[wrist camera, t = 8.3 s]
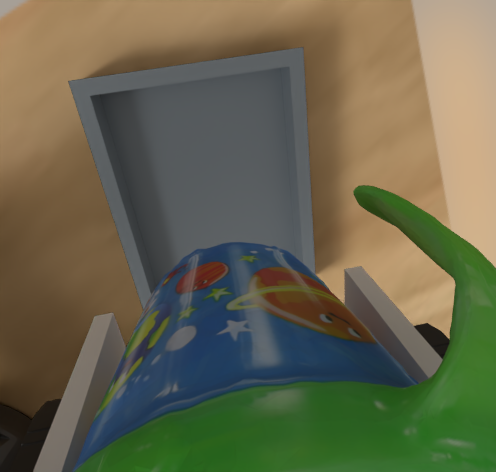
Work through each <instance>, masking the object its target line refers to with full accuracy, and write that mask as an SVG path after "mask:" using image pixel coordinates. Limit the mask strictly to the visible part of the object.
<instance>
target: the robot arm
mask: <svg viewBox="0 0 496 472" xmlns="http://www.w3.org/2000/svg"><path fill="white" fill-rule="evenodd" d="M345 306H346V307H347V308H348V309H349V310H350V311H351V312H352V313H353V314H354V315H355V316H356V317H357V318H358V319H359V320H360V321H361V322H362V323H363V324H364V325H365V326H366V327H367V328H368V329H369V330H370V331H371V333H372V334H373V335H374V337H375V338H376V339H377V341H378V342H380V343H381V344H382V345H383V346H384V347H385V349H386V350H387V351H388V352H389V353H390V354H391V355H392V357H393V358H394V359H395V360H396V361H398V362H399V363H400V364H401V365H402V366H403V368H404V370H405V371H406V373H407V374H408V375H410V376H411V377H413V378H414V379H415V380H416V381H417V382H418V383H421V382H423V381H425V380H427V379H429V378H430V377H431V376H432V375H433V374H435V373H436V371H437V369H438V368H439V366H440V364H441V363H442V360H443V358H444V355H445V353H446V350H447V348H448V346H449V342H450V340H449V339H448V338H447V337H446V336H445V335H444V334H443V333H442V332H441V331H440V330H438V329H436V328H435V327H433V326H431V325H429V324H428V323H426V324H421V325H416V326H413V325H412V324H411V323H410V322H409V320H408V319H407V318H406V317H405V316H404V315H403V314H402V312H401V311H400V310H399V309H398V308H397V307H396V306H395V304H394V303H393V302H392V301H391V300H390V299H389V298H388V296H387V295H386V294H385V293H384V292H383V291H382V289H381V288H380V287H379V286H378V285H377V284H376V283H375V281H374V280H373V279H372V278H371V277H370V276H369V275H368V273H367V272H366V271H365V270H364V269H363V268H362V266H359V267H353V268H348V269H345ZM125 349H126V346H125V343H124V341H123V338H122V335H121V332H120V330H119V327H118V324H117V321H116V319H115V316H114V313H108V314H103V315H97V316H95V317H94V319H93V322H92V324H91V327H90V329H89V332H88V334H87V337H86V339H85V342H84V344H83V347H82V349H81V352H80V354H79V357H78V359H77V362H76V364H75V367H74V370H73V372H72V375H71V377H70V380H69V382H68V385H67V387H66V390H65V392H64V395H63V397H62V399H57V400H52V401H47V402H46V403H45V404H44V405H43V406H42V407H41V408H40V410H39V411H38V412H37V413H36V414H35V416H34V417H33V419H32V420H31V419H29V418H28V417H26V416H25V415H23V414H21V413H20V412H18V411H16V410H14V409H11V408H9V407H6V406H4V405H0V472H72V470H73V469H74V467H75V465H76V463H77V461H78V458H79V456H80V453H81V451H82V448H83V445H84V442H85V439H86V437H87V434H88V432H89V430H90V427H91V425H92V423H93V420H94V417H95V415H96V413H97V411H98V408H99V406H100V404H101V402H102V400H103V398H104V395H105V393H106V391H107V389H108V387H109V384H110V382H111V380H112V378H113V376H114V373H115V371H116V369H117V367H118V365H119V362H120V360H121V358H122V356H123V354H124V352H125Z"/></svg>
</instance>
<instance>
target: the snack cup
mask: <svg viewBox="0 0 496 472" xmlns="http://www.w3.org/2000/svg"><path fill="white" fill-rule="evenodd" d="M353 192H354V196H355V198H356V200H357V202H358V204H359V205H360V206H361V207H363V208H364V209H366V210H367V211H369V212H370V213H372V214H374V215H376V216H378V217H379V218H381V219H383V220H385V221H387V222H389V223H390V224H392V225H394V226H396V227H397V228H399V229H400V230H401V231H402V232H403V233H404V234H405V235H406V236H407V237H408V238H409V239H410V240H411V241H412V242H414V243H415V244H416V245H417V246H418V247H419V248H420V249H421V250H422V251H423V252H424V253H425V254H427V255H428V256H429V257H430V258H431V259H432V260H433V261H434V262H435V263H436V264H438V265H439V266H440V267H441V268H442V269H444V270H445V271H446V272H447V273H448V274H449V275H451V276H452V277H453V278H454V280H455V284H456V286H455V296H454V306H453V314H452V323H451V328H450V342H449V346H448V348H447V350H446V353H445V355H444V358H443V360H442V363H441V364H440V366H439V368H438V369H437V371H436V373H435V374H433V375H432V376H431V377H430V378H429V379H427V380H425V381H423V382H421V383H418V382H417V381H416V380H415V379H414V378H413V377H411V376H410V375H408V374H407V373H406V371H405V370H404V368H403V366H402V365H401V364H400V363H399V362H398V361H396V360H395V359H394V358H393V357H392V355H391V354H390V353H389V352H388V351H387V350H386V349H385V347H384V346H383V345H382V344H381V343H380V342H378V341H377V339H376V338H375V337H374V335H373V334H372V333H371V331H370V330H369V329H368V328H367V327H366V326H365V325H364V324H363V323H362V322H361V321H360V320H359V319H358V318H357V317H356V316H355V315H354V314H353V313H352V312H351V311H350V310H349V309H348V308H347V307H346V306H345V305H344V304H343V303H342V302H341V301H340V300H339V299H338V298H337V297H336V296H335V295H334V294H333V293H331V292H330V290H329V289H328V287H327V286H326V285H325V284H324V282H323V281H322V280H320V279H319V278H318V277H317V276H316V275H315V274H314V273H313V272H311V270H310V269H309V268H308V267H307V266H306V265H304V264H303V263H302V262H301V261H299V260H298V259H297V258H296V257H295V256H294V255H292V254H291V253H290V252H288V251H287V250H283V249H280V248H278V247H276V246H272V247H270V246H266V245H263V244H256V243H246V242H229V243H222V244H220V245H217V246H214V247H210V248H207V249H196V250H195V251H193V252H192V253H191V254H189V255H187V256H185V257H184V258H183V259H182V260H181V261H180V262H179V264H177V265H176V266H175V267H174V268H173V269H172V270H171V271H170V272H168V273H167V274H165V275H164V277H163V278H162V279H161V281H160V282H159V284H158V285H157V287H156V288H155V290H154V292H153V293H152V295H151V296H150V298H149V300H148V302H147V304H146V306H145V308H144V310H143V312H142V314H141V317H140V319H139V321H138V323H137V326H136V328H135V330H134V332H133V334H132V336H131V339H130V341H129V343H128V345H127V347H126V349H125V352H124V354H123V356H122V358H121V360H120V362H119V365H118V367H117V369H116V371H115V373H114V376H113V378H112V380H111V382H110V384H109V387H108V389H107V391H106V393H105V395H104V398H103V400H102V402H101V404H100V406H99V408H98V411H97V413H96V415H95V417H94V420H93V423H92V425H91V427H90V430H89V432H88V434H87V437H86V439H85V442H84V445H83V448H82V451H81V453H80V456H79V458H78V461H77V463H76V465H75V467H74V469H73V470H72V472H496V268H495V267H494V266H493V265H492V263H491V262H489V261H488V260H487V259H486V258H485V257H484V255H483V254H482V253H481V252H480V251H479V250H477V249H476V248H475V247H474V246H473V245H471V244H470V243H468V242H467V241H466V240H464V239H463V238H461V237H460V236H458V235H457V234H455V233H454V232H452V231H451V230H450V229H448V228H447V227H445V226H444V225H442V224H441V223H440V222H439V221H438V220H437V219H436V218H434V217H433V216H431V215H430V214H428V213H427V212H425V211H423V210H422V209H420V208H418V207H417V206H415V205H413V204H412V203H410V202H409V201H407V200H405V199H403V198H401V197H399V196H397V195H395V194H393V193H391V192H388V191H385V190H383V189H380V188H377V187H374V186H365V185H363V186H358V187H356V188H355V190H354V191H353Z"/></svg>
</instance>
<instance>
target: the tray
mask: <svg viewBox="0 0 496 472" xmlns="http://www.w3.org/2000/svg"><path fill="white" fill-rule="evenodd" d="M68 82H69V85H70V88H71V91H72V94H73V97H74V100H75V103H76V107H77V110H78V113H79V116H80V119H81V122H82V125H83V128H84V131H85V134H86V137H87V140H88V143H89V146H90V149H91V152H92V155H93V158H94V161H95V164H96V168H97V171H98V174H99V177H100V180H101V183H102V186H103V189H104V192H105V195H106V198H107V201H108V204H109V207H110V210H111V213H112V216H113V219H114V222H115V225H116V228H117V232H118V235H119V238H120V241H121V244H122V247H123V250H124V253H125V256H126V259H127V262H128V265H129V268H130V271H131V274H132V277H133V280H134V283H135V286H136V289H137V292H138V296H139V299H140V302H141V305H142V308H143V310H144V308H145V306H146V304H147V302H148V300H149V298H150V296H151V295H152V293H153V292H154V290H155V288H156V287H157V285H158V284H159V282H160V281H161V279H162V278H163V277H164V275H165V274H167V273H168V272H170V271H171V270H172V269H173V268H174V267H175V266H176V265H177V264H179V262H180V261H181V260H182V259H183V258H184V257H185V256H187V255H189V254H191V253H192V252H193V251H195V250H196V249H207V248H210V247H214V246H217V245H220V244H222V243H229V242H246V243H256V244H263V245H266V246H270V247H272V246H276V247H278V248H280V249H283V250H287V251H288V252H290V253H291V254H292V255H294V256H295V257H296V258H297V259H298V260H299V261H301V262H302V263H303V264H304V265H306V266H307V267H308V268H309V269H310V270H311V272H313V273H314V274H315V256H314V238H313V219H312V200H311V181H310V163H309V144H308V125H307V107H306V88H305V69H304V50H303V47H301V48H294V49H287V50H280V51H274V52H267V53H260V54H253V55H246V56H239V57H232V58H225V59H218V60H211V61H204V62H197V63H190V64H183V65H176V66H169V67H163V68H156V69H149V70H142V71H135V72H128V73H121V74H114V75H107V76H100V77H93V78H86V79H79V80H72V81H68Z"/></svg>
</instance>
